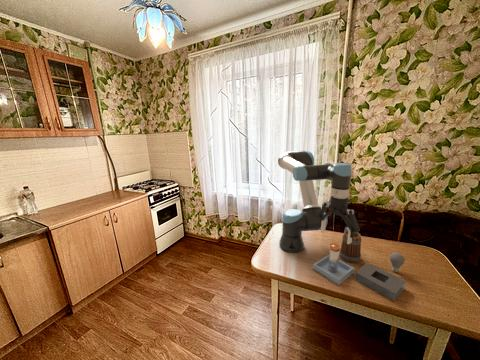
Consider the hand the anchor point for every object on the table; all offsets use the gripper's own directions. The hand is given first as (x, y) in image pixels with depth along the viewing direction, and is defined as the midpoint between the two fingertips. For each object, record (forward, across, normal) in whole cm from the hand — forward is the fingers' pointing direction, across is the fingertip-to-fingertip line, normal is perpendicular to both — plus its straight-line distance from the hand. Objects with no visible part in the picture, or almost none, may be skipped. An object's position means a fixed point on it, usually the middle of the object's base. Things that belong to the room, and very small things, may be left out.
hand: (335, 237), depth 97 cm
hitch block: (+19, +18, +9) cm, 28 cm away
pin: (+19, 0, 0) cm, 19 cm away
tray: (+19, 0, 0) cm, 19 cm away
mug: (+20, -2, +20) cm, 28 cm away
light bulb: (+20, +19, +25) cm, 37 cm away
